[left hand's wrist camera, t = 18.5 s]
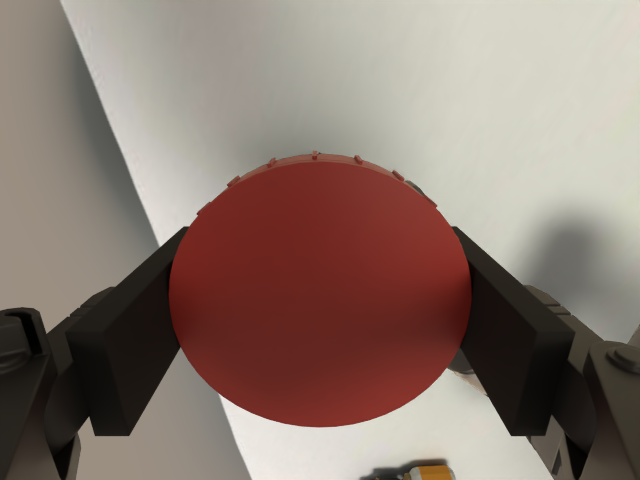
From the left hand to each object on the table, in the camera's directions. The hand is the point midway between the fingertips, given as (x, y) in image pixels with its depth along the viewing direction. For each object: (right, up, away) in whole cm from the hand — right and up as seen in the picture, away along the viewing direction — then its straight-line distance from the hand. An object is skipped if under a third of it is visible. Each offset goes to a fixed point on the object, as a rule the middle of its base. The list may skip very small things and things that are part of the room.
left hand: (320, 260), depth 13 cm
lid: (0, -1, -3) cm, 3 cm away
